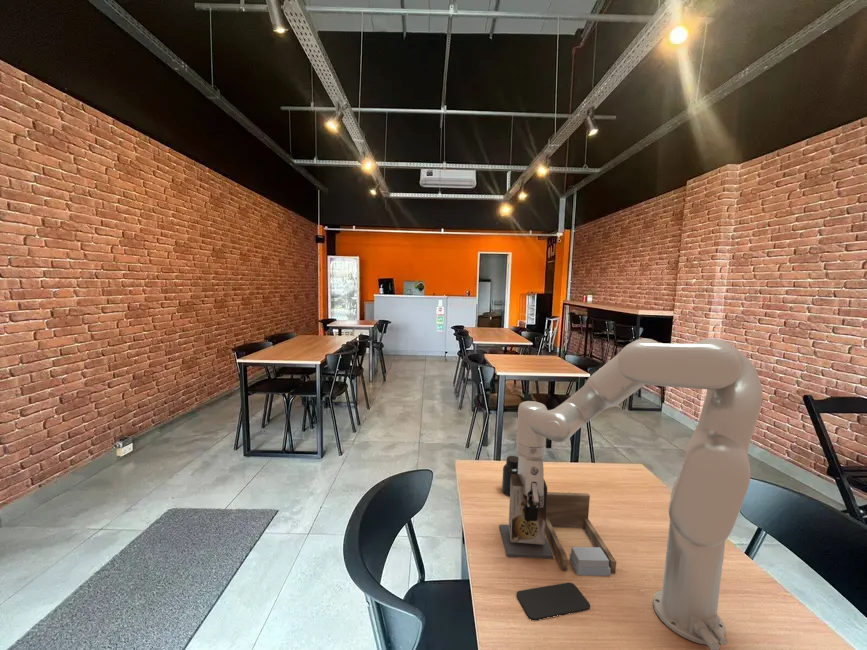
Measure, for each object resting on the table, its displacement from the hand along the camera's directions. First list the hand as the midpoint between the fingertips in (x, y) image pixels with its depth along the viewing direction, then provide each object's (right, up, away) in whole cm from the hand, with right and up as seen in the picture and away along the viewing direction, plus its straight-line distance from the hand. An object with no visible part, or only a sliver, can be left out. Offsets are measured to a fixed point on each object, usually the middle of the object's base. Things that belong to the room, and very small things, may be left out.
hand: (527, 511), depth 99 cm
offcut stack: (+14, -11, -8) cm, 19 cm away
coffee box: (0, -7, +1) cm, 7 cm away
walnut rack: (+13, -10, 0) cm, 16 cm away
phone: (+1, -11, -18) cm, 21 cm away
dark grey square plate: (0, -9, +1) cm, 9 cm away
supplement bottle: (+1, -7, +26) cm, 27 cm away
